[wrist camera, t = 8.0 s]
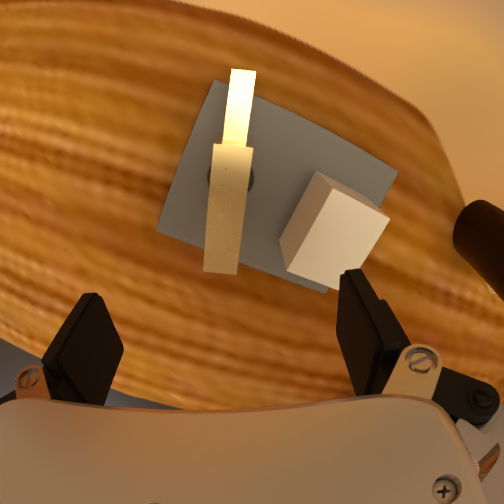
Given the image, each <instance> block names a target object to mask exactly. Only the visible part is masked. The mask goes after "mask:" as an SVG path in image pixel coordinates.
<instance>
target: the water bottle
mask: <svg viewBox="0 0 504 504" xmlns="http://www.w3.org/2000/svg"><path fill="white" fill-rule="evenodd" d="M453 243H454V247H455V249H456V251H457V252H458V253H459V254H460V255H461V256H462V257H463V258H464V259H465V260H466V261H467V262H468V263H469V264H470V265H471V266H472V267H473V268H474V269H475V270H476V271H477V272H478V273H479V275H480V276H481V277H482V278H483V279H484V280H485V281H486V282H487V283H488V284H489V285H490V286H491V288H492V289H493V290H494V291H495V292H496V293H497V294H498V295H499V297H500V298H501V299H502V300H503V301H504V211H503V210H501V209H499V208H498V207H496V206H494V205H492V204H491V203H489V202H487V201H484V200H476V201H474V202H472V203H470V204H469V205H468V206H466V207H465V208H464V210H463V211H462V212H461V214H460V215H459V217H458V219H457V221H456V224H455V227H454V232H453Z"/></svg>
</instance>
